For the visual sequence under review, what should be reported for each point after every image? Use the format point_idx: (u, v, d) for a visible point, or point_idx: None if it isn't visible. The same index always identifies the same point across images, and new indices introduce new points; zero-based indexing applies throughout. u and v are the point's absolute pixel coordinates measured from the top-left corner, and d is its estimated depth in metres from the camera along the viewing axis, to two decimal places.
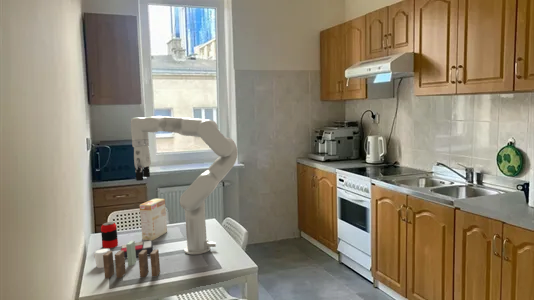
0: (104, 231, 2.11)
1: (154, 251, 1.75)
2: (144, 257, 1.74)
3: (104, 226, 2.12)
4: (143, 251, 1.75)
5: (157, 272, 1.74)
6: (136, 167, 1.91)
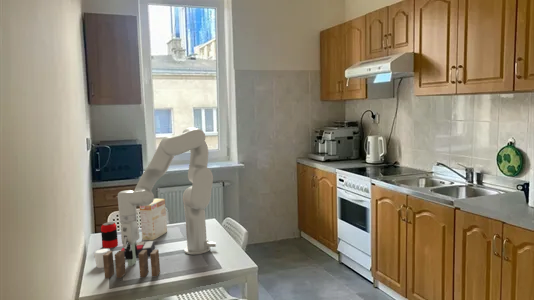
0: (104, 231, 2.11)
1: (154, 251, 1.75)
2: (144, 257, 1.74)
3: (104, 226, 2.12)
4: (144, 251, 1.75)
5: (157, 272, 1.74)
6: (125, 248, 1.82)
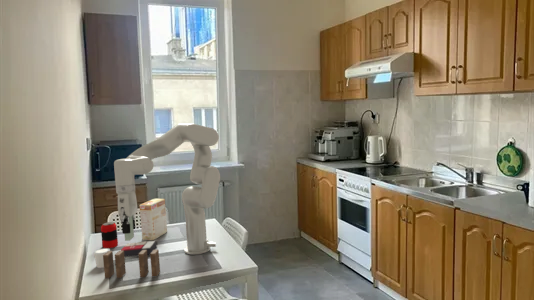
0: (104, 231, 2.11)
1: (154, 251, 1.75)
2: (144, 257, 1.74)
3: (104, 226, 2.12)
4: (143, 251, 1.75)
5: (157, 272, 1.74)
6: (122, 220, 1.67)
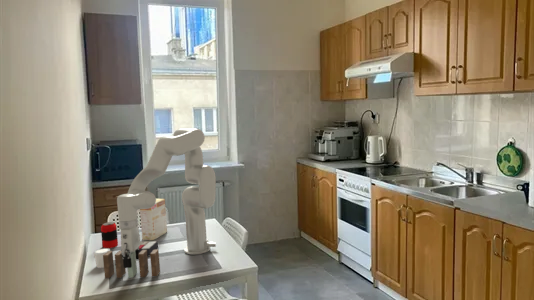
0: (104, 231, 2.11)
1: (154, 251, 1.75)
2: (144, 257, 1.74)
3: (104, 226, 2.12)
4: (143, 251, 1.75)
5: (157, 272, 1.74)
6: (123, 254, 1.67)
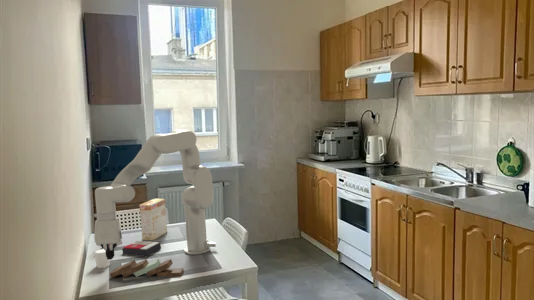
0: None
1: (182, 272, 1.75)
2: None
3: None
4: (170, 264, 1.75)
5: None
6: None
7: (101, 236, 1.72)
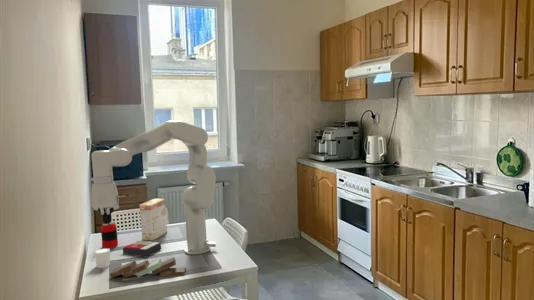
0: (104, 231, 2.11)
1: (185, 271, 1.76)
2: None
3: (104, 226, 2.12)
4: (175, 261, 1.78)
5: None
6: None
7: (98, 200, 1.70)
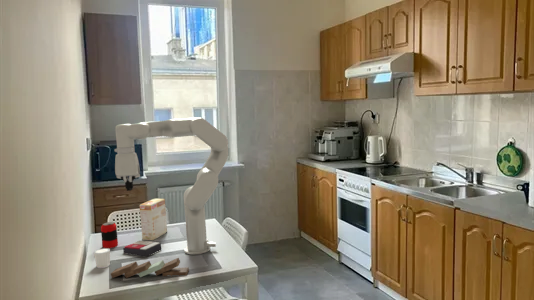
0: (104, 231, 2.11)
1: (187, 272, 1.75)
2: None
3: (104, 226, 2.12)
4: (178, 262, 1.76)
5: None
6: None
7: (121, 168, 1.88)
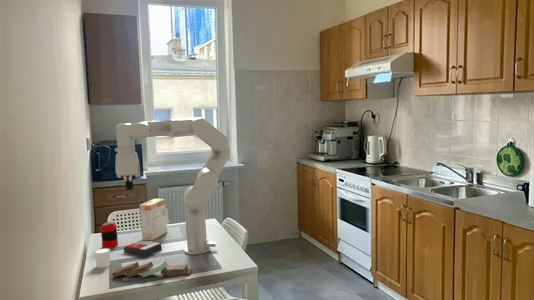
0: (104, 231, 2.11)
1: (190, 273, 1.75)
2: None
3: (104, 226, 2.12)
4: (186, 270, 1.74)
5: None
6: None
7: (121, 168, 1.89)
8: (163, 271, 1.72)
